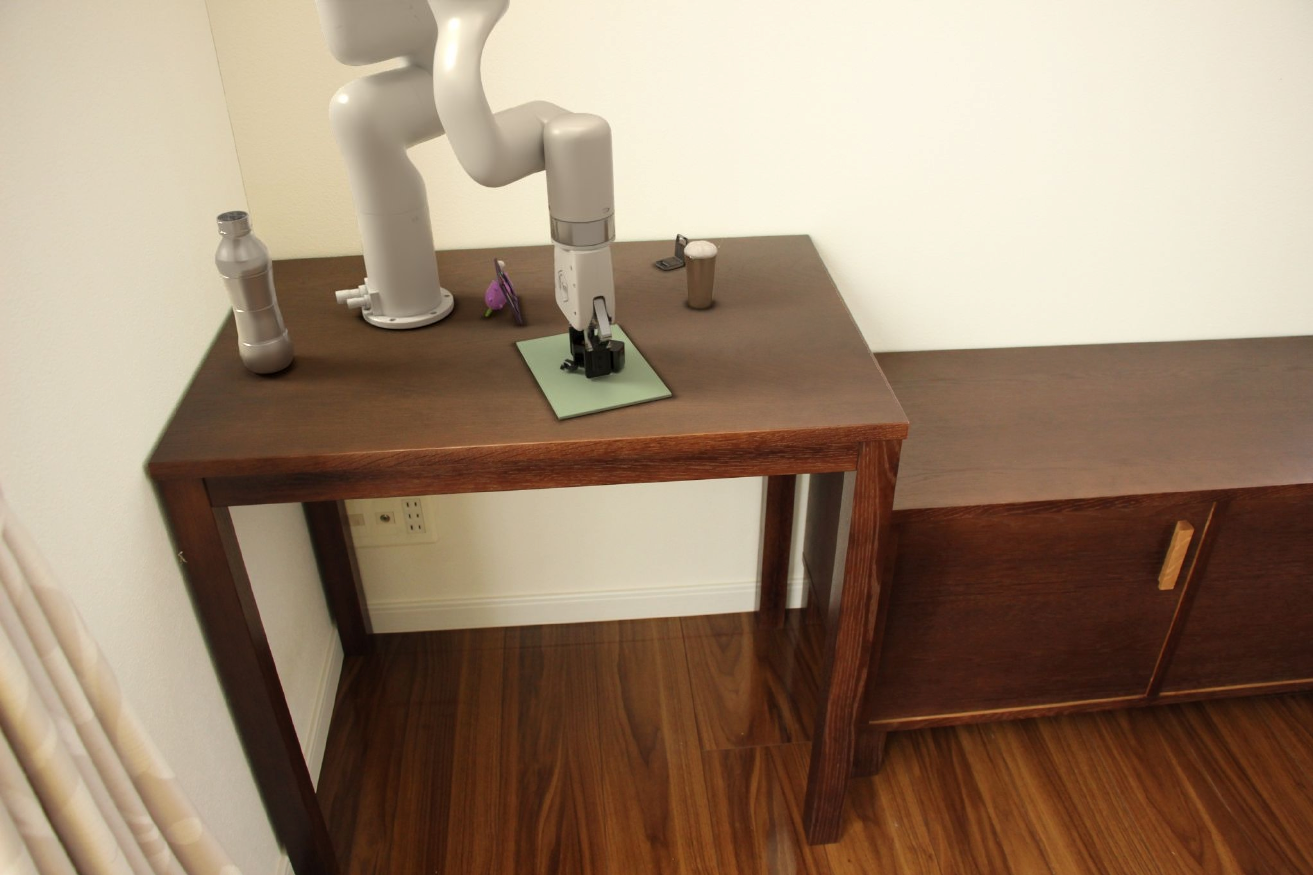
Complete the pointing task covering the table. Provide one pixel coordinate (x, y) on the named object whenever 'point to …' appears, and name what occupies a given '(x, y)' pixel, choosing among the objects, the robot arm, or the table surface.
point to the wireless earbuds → (578, 355)
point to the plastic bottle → (252, 295)
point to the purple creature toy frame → (501, 293)
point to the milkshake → (700, 272)
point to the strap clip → (679, 254)
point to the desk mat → (585, 395)
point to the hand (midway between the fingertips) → (590, 363)
